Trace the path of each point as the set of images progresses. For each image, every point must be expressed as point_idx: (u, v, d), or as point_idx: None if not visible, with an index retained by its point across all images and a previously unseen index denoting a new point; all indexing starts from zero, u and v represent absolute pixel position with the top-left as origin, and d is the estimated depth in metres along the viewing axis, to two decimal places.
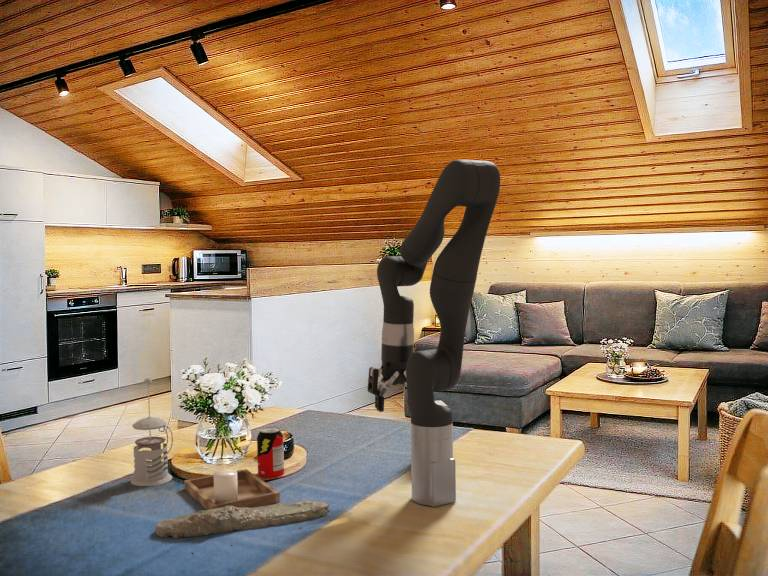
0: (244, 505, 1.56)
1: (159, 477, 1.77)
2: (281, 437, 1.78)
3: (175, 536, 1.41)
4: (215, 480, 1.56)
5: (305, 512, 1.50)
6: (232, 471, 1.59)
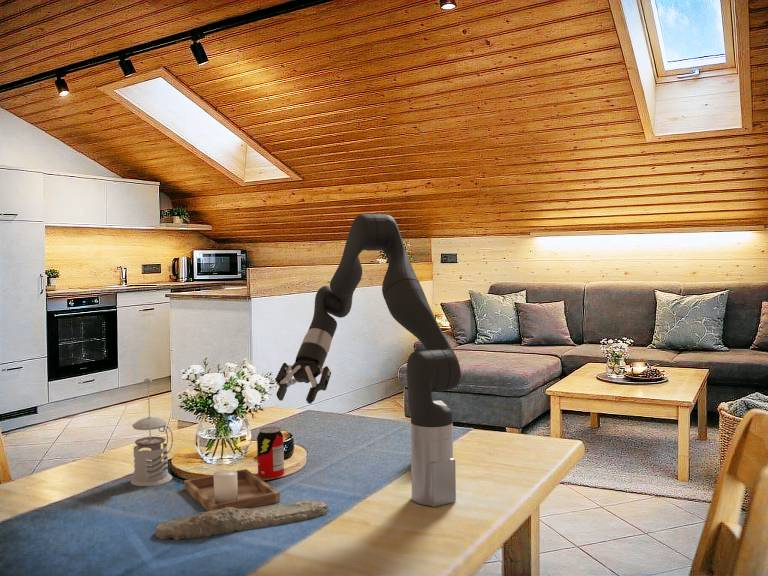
0: (244, 505, 1.56)
1: (159, 477, 1.77)
2: (281, 437, 1.78)
3: (176, 538, 1.40)
4: (215, 480, 1.56)
5: (305, 511, 1.50)
6: (232, 471, 1.59)
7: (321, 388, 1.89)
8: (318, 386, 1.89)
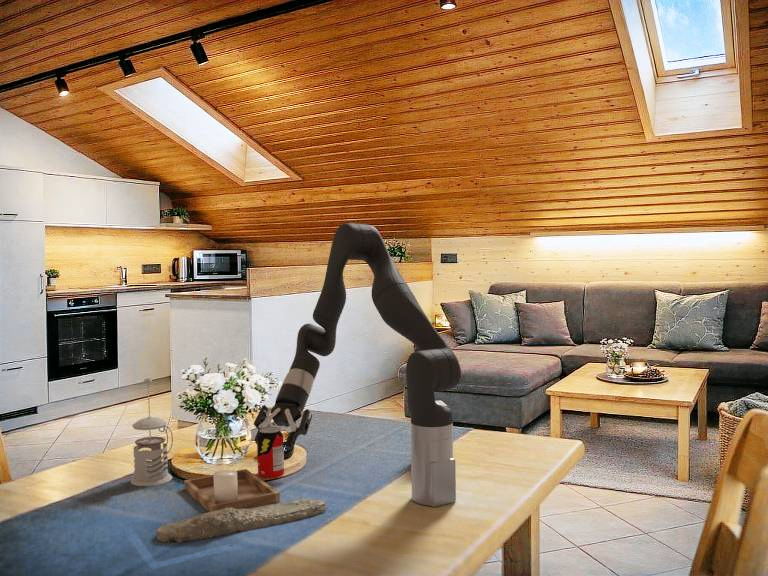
0: (244, 505, 1.56)
1: (159, 477, 1.77)
2: (281, 437, 1.78)
3: (179, 540, 1.39)
4: (215, 480, 1.56)
5: (305, 510, 1.51)
6: (232, 471, 1.59)
7: (301, 432, 1.80)
8: (298, 430, 1.80)
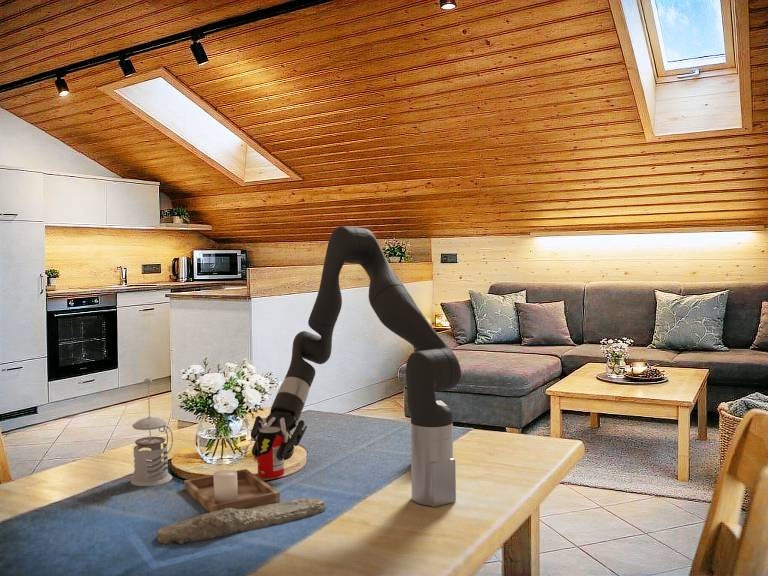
0: (244, 505, 1.56)
1: (159, 477, 1.77)
2: (281, 437, 1.78)
3: (181, 541, 1.38)
4: (215, 480, 1.56)
5: (305, 509, 1.51)
6: (232, 471, 1.59)
7: (293, 443, 1.78)
8: (289, 441, 1.78)
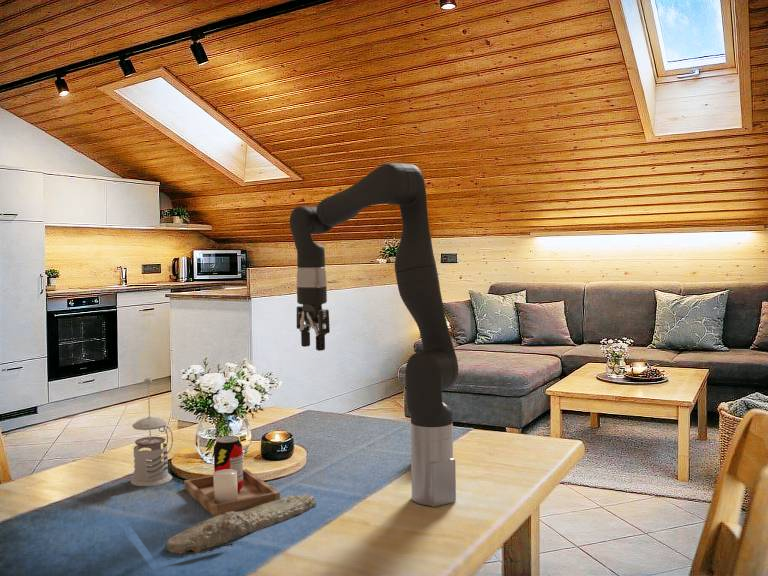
0: (244, 505, 1.56)
1: (159, 477, 1.77)
2: (239, 447, 1.66)
3: (198, 549, 1.34)
4: (216, 479, 1.56)
5: (301, 505, 1.54)
6: (231, 470, 1.59)
7: (324, 333, 1.82)
8: None
